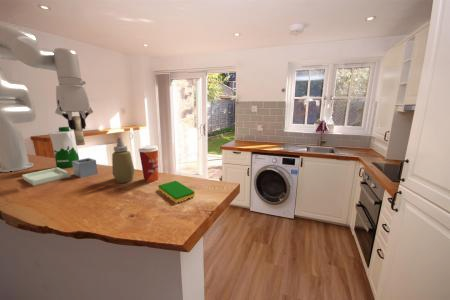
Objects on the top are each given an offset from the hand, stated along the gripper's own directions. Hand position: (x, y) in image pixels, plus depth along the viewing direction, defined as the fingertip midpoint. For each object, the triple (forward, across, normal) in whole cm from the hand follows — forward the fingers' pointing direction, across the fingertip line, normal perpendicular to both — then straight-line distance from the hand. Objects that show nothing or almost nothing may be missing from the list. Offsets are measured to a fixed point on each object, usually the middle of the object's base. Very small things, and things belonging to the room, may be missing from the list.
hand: (77, 128), depth 84 cm
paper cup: (+21, -13, +28) cm, 38 cm away
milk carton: (+21, -1, -22) cm, 30 cm away
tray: (+21, +11, -9) cm, 25 cm away
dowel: (+7, 0, 0) cm, 7 cm away
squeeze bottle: (+21, -6, +20) cm, 30 cm away
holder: (+21, 0, 0) cm, 21 cm away
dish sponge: (+21, -9, +47) cm, 53 cm away
